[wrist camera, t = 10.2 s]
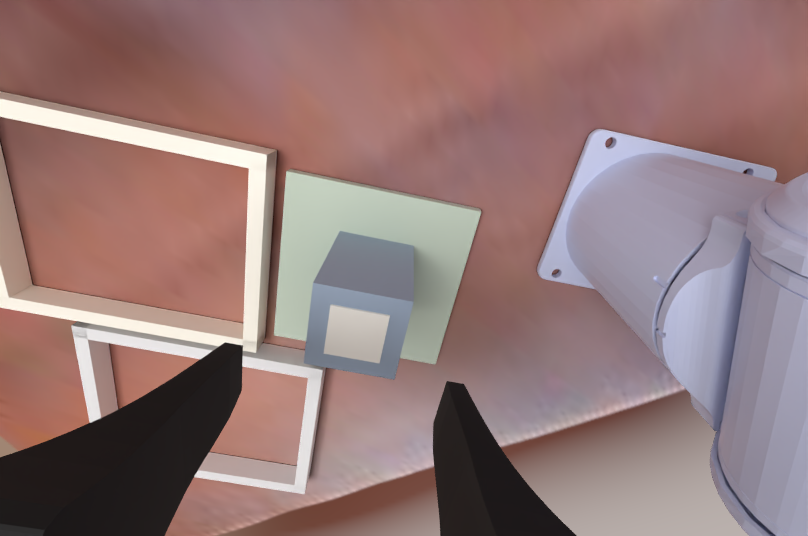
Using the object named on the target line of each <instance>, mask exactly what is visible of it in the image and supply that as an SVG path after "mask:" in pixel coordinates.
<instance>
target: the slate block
mask: <svg viewBox="0 0 808 536" xmlns="http://www.w3.org/2000/svg"><path fill="white" fill-rule="evenodd" d="M413 303H414V246H413V245H408V244H403V243H398V242H393V241H388V240H383V239H378V238H373V237H368V236H363V235H358V234H353V233H348V232H343V231H339V233H338V235H337V237H336V239H335V241H334V243H333V245H332V247H331V249H330V251H329V253H328V255H327V257H326V259H325V261H324V262H323V264H322V266H321V268H320V270H319V272H318V274H317V276H316V278H315V280H314V282H313V287H312V296H311V304H310V313H309V321H308V330H307V338H306V346H305V355H304V364H309V365H315V366H321V367H326V368H332V369H338V370H343V371H349V372H355V373H360V374H366V375H371V376H377V377H383V378H388V379H395V375H396V371H397V367H398V363H399V359H400V355H401V351H402V347H403V343H404V339H405V335H406V331H407V327H408V323H409V319H410V315H411V311H412V307H413Z"/></svg>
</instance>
